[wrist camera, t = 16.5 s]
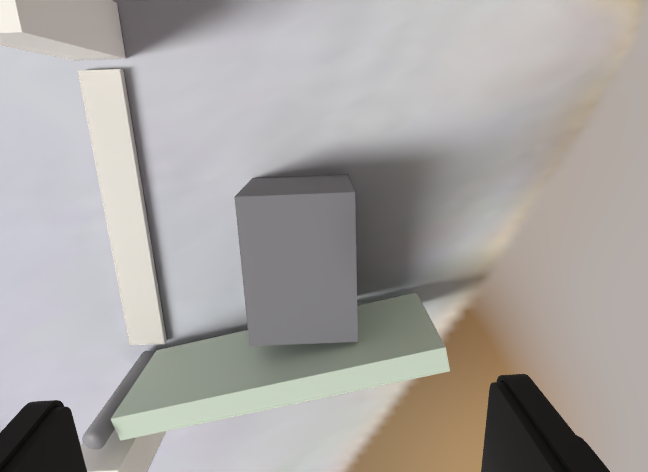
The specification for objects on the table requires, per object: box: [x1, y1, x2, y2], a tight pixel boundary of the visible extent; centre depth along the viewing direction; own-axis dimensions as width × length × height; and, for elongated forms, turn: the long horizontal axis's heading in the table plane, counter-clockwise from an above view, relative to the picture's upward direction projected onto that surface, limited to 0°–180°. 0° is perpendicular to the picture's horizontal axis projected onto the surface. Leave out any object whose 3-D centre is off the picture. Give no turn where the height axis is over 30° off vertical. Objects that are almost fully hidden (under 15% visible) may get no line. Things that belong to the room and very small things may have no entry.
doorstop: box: [235, 175, 358, 346], centre depth 21 cm, size 7×5×5 cm
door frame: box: [0, 0, 167, 472], centre depth 19 cm, size 22×2×8 cm, turn 2°
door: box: [82, 292, 450, 450], centre depth 21 cm, size 16×1×6 cm, turn 103°
